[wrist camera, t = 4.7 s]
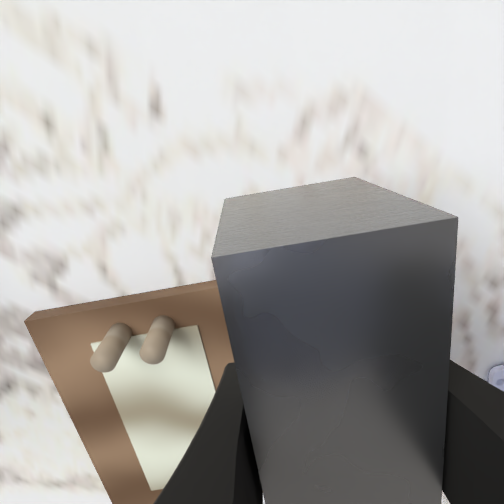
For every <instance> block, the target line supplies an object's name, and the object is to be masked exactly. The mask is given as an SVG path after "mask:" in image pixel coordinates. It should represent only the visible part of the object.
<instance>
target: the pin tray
mask: <svg viewBox="0 0 504 504" xmlns="http://www.w3.org/2000/svg"><path fill="white" fill-rule="evenodd" d="M24 322H25V324H26V326H27V329H28V331H29V333H30V335H31V337H32V339H33V341H34V343H35V345H36V347H37V349H38V351H39V353H40V355H41V357H42V359H43V361H44V364H45V366H46V368H47V370H48V372H49V374H50V376H51V378H52V380H53V382H54V384H55V386H56V388H57V390H58V392H59V394H60V397H61V399H62V401H63V403H64V405H65V407H66V409H67V411H68V413H69V415H70V417H71V419H72V421H73V423H74V425H75V427H76V429H77V432H78V434H79V436H80V438H81V440H82V442H83V444H84V446H85V448H86V450H87V452H88V454H89V456H90V458H91V460H92V462H93V465H94V467H95V469H96V471H97V473H98V475H99V477H100V479H101V481H102V483H103V485H104V487H105V489H106V491H107V493H108V495H109V497H110V500H111V502H112V504H153V503H154V502H155V501H156V499H157V498H158V496H159V495H160V493H161V491H162V490H163V488H164V487H165V485H166V484H167V482H168V481H169V479H170V477H171V476H172V474H173V473H174V471H175V469H176V468H177V466H178V464H179V463H180V461H181V459H182V458H183V456H184V454H185V452H186V450H187V449H188V447H189V445H190V443H191V441H192V439H193V438H194V436H195V434H196V432H197V430H198V428H199V426H200V424H201V422H202V420H203V418H204V416H205V414H206V412H207V410H208V408H209V406H210V403H211V401H212V399H213V397H214V394H215V392H216V390H217V387H218V385H219V382H220V380H221V377H222V375H223V372H224V369H225V366H226V365H227V364H228V363H233V362H234V358H233V354H232V349H231V345H230V340H229V336H228V331H227V326H226V322H225V317H224V313H223V308H222V304H221V299H220V295H219V290H218V286H217V281H216V280H214V281H208V282H202V283H197V284H191V285H185V286H179V287H174V288H168V289H162V290H157V291H151V292H145V293H139V294H134V295H128V296H122V297H117V298H111V299H105V300H99V301H94V302H88V303H82V304H77V305H71V306H65V307H59V308H54V309H48V310H42V311H37V312H34V313H33V314H32V315H31V316H30V317H28V318H27V319H26V320H25V321H24Z"/></svg>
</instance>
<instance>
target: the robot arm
mask: <svg viewBox="0 0 504 504" xmlns="http://www.w3.org/2000/svg"><path fill="white" fill-rule="evenodd" d="M442 490H443V492H444V494H445V495H446V497H447V499H448V500H449V502H450V504H504V365H499V366H495V367H493V368H492V369H491V370H490V372H489V379H488V382H486V381H484V380H483V379H481V378H479V377H478V376H476V375H474V374H473V373H471V372H469V371H468V370H466V369H464V368H463V367H461V366H459V365H458V364H456V363H454V362H453V361H451V360H450V363H449V380H448V397H447V414H446V430H445V447H444V464H443V481H442ZM153 504H263V490H262V485H261V481H260V476H259V472H258V467H257V463H256V458H255V454H254V449H253V445H252V440H251V435H250V431H249V426H248V422H247V417H246V413H245V408H244V404H243V399H242V395H241V390H240V386H239V381H238V376H237V372H236V367H235V363H234V362H233V363H228V364H227V365H226V366H225V369H224V372H223V375H222V377H221V380H220V382H219V385H218V387H217V390H216V392H215V394H214V397H213V399H212V401H211V403H210V406H209V408H208V410H207V412H206V414H205V416H204V418H203V420H202V422H201V424H200V426H199V428H198V430H197V432H196V434H195V436H194V438H193V439H192V441H191V443H190V445H189V447H188V449H187V450H186V452H185V454H184V456H183V458H182V459H181V461H180V463H179V464H178V466H177V468H176V469H175V471H174V473H173V474H172V476H171V477H170V479H169V481H168V482H167V484H166V485H165V487H164V488H163V490H162V491H161V493H160V495H159V496H158V498H157V499H156V501H155V502H154V503H153Z"/></svg>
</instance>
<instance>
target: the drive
mask: <svg viewBox="0 0 504 504" xmlns="http://www.w3.org/2000/svg"><path fill="white" fill-rule="evenodd" d="M457 230H458V217H457V216H454V215H451V214H449V213H446V212H444V211H441V210H439V209H436V208H433V207H431V206H428V205H426V204H423V203H421V202H418V201H415V200H413V199H410V198H408V197H405V196H403V195H400V194H397V193H395V192H392V191H390V190H387V189H385V188H382V187H380V186H377V185H374V184H372V183H369V182H367V181H364V180H362V179H359V178H356V177H351V178H345V179H340V180H334V181H328V182H322V183H316V184H310V185H304V186H298V187H292V188H286V189H280V190H274V191H268V192H262V193H256V194H250V195H244V196H238V197H232V198H226V199H225V200H224V204H223V209H222V213H221V218H220V222H219V226H218V231H217V235H216V239H215V244H214V248H213V253H212V257H211V258H212V263H213V267H214V272H215V277H216V281H217V286H218V290H219V295H220V299H221V304H222V308H223V313H224V317H225V322H226V326H227V331H228V336H229V340H230V345H231V349H232V354H233V358H234V363H235V367H236V372H237V376H238V381H239V386H240V390H241V395H242V399H243V404H244V408H245V413H246V417H247V422H248V426H249V431H250V435H251V440H252V445H253V449H254V454H255V458H256V463H257V467H258V472H259V476H260V481H261V485H262V490H263V495H264V499H265V504H441V497H442V481H443V464H444V447H445V430H446V414H447V397H448V380H449V363H450V347H451V330H452V313H453V297H454V280H455V263H456V246H457Z"/></svg>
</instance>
